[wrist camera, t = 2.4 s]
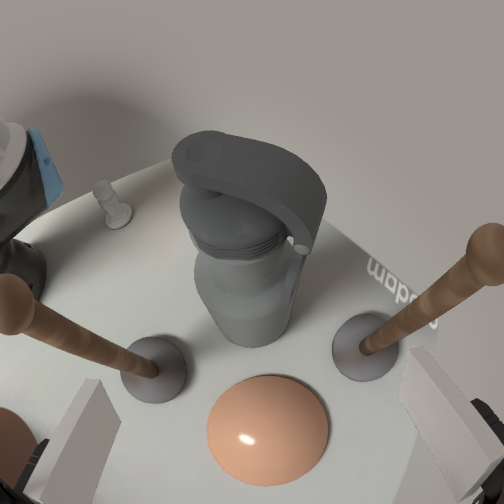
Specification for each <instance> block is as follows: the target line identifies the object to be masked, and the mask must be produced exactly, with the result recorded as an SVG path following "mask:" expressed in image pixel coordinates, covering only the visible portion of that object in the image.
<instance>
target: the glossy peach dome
mask: <svg viewBox="0 0 504 504" xmlns="http://www.w3.org/2000/svg"><path fill="white" fill-rule="evenodd" d="M327 439H328V422H327V417H326V414H325V411H324V409H323V407H322V405H321V403H320V402H319V400H318V399H317V398H316V396H315V395H314V394H313V393H312V392H311V391H309V390H308V389H307V388H306V387H304V386H303V385H301V384H299V383H297V382H295V381H293V380H290V379H287V378H283V377H278V376H260V377H254V378H250V379H247V380H244V381H242V382H240V383H238V384H236V385H234V386H233V387H231V388H230V389H228V390H227V391H226V392H225V393H224V394H223V395H222V396H221V397H220V398H219V399H218V401H217V402H216V403H215V405H214V407H213V408H212V411H211V413H210V415H209V419H208V424H207V440H208V445H209V448H210V451H211V453H212V455H213V457H214V459H215V460H216V461H217V463H218V464H219V465H220V466H221V467H222V469H223V470H225V471H226V472H227V473H228V474H230V475H231V476H233V477H234V478H236V479H238V480H240V481H242V482H245V483H248V484H252V485H257V486H275V485H281V484H285V483H288V482H291V481H293V480H295V479H297V478H299V477H301V476H303V475H304V474H305V473H307V472H308V471H309V470H310V469H311V468H312V467H313V466H314V465H315V464H316V463H317V461H318V460H319V459H320V457H321V455H322V454H323V451H324V449H325V446H326V443H327Z"/></svg>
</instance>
